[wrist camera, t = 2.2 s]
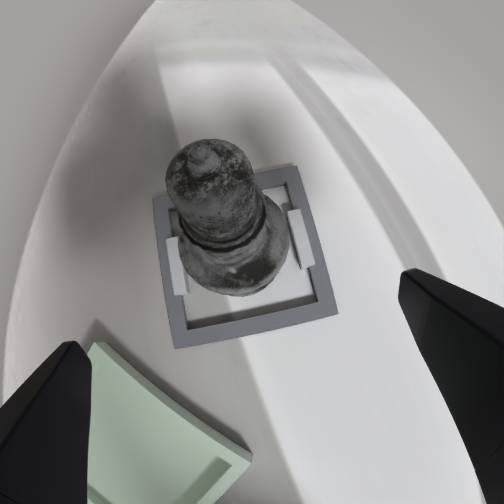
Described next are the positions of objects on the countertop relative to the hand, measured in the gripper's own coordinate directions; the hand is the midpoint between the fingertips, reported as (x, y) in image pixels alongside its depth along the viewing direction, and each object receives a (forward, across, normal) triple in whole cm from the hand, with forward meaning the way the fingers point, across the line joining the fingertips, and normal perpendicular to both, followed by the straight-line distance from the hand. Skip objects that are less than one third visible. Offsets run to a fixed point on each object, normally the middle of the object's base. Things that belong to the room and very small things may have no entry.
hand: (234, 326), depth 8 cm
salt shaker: (+11, 0, +5) cm, 12 cm away
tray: (+2, +10, +13) cm, 17 cm away
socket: (+11, 0, +5) cm, 12 cm away
